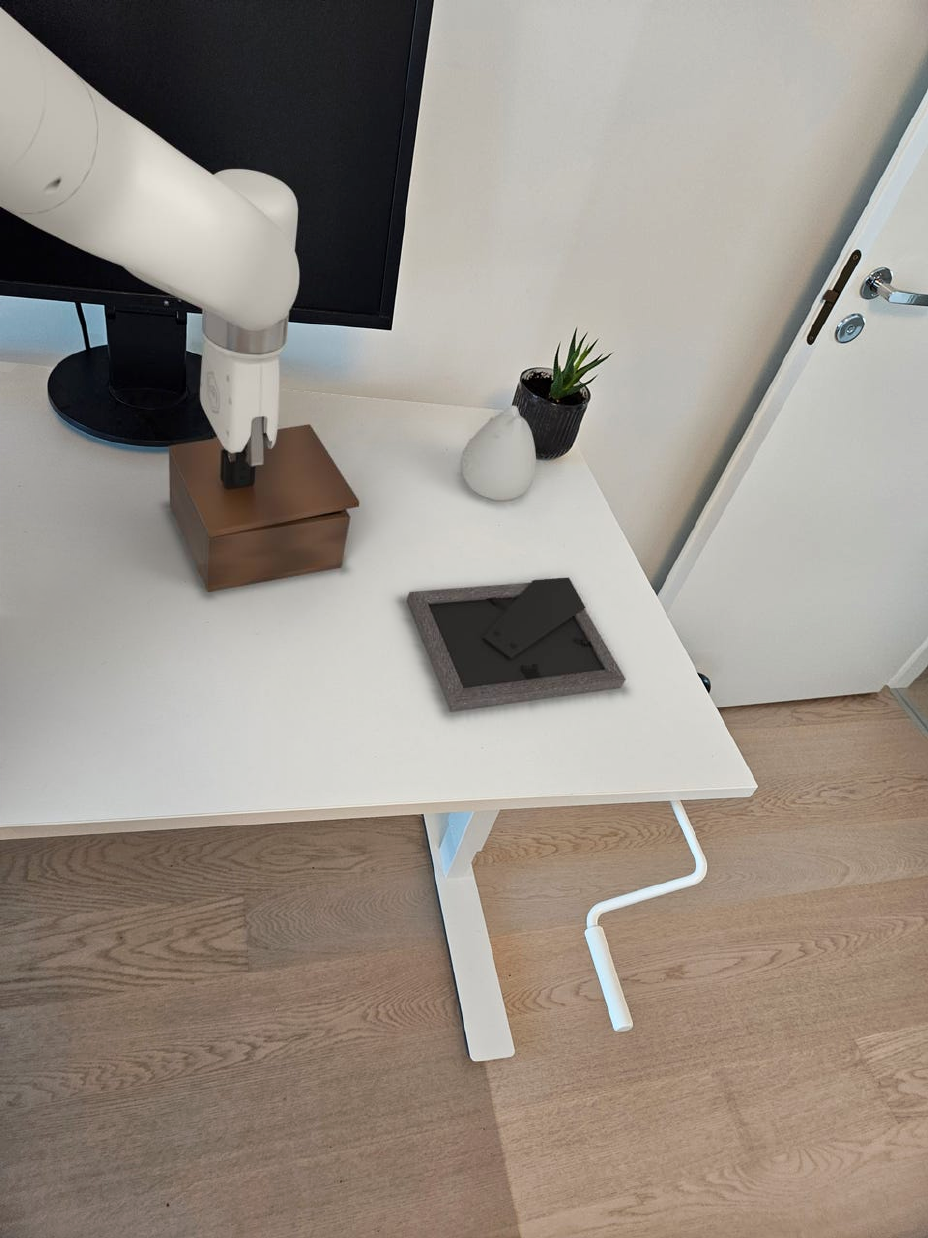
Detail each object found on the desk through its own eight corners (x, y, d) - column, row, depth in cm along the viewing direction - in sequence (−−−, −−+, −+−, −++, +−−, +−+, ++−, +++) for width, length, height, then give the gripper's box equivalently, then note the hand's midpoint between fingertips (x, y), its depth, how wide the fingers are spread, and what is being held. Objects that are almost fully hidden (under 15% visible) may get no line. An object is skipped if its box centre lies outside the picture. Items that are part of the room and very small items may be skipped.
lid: (309, 429, 96) (309, 423, 96) (359, 506, 89) (359, 501, 88) (169, 451, 89) (168, 445, 89) (209, 537, 82) (209, 531, 81)
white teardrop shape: (449, 459, 115) (470, 385, 107) (518, 466, 118) (544, 394, 110) (462, 505, 109) (484, 430, 100) (534, 511, 112) (562, 439, 103)
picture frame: (563, 588, 102) (406, 601, 93) (568, 577, 100) (409, 589, 92) (620, 687, 92) (450, 712, 84) (627, 676, 91) (455, 700, 82)
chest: (296, 490, 102) (302, 438, 97) (341, 567, 95) (350, 516, 89) (169, 506, 95) (168, 451, 89) (207, 592, 87) (209, 538, 82)
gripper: (179, 283, 76) (181, 445, 89) (230, 370, 68) (224, 534, 81) (257, 283, 79) (248, 438, 92) (314, 365, 72) (295, 523, 84)
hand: (237, 482), depth 86 cm, fingers closed
